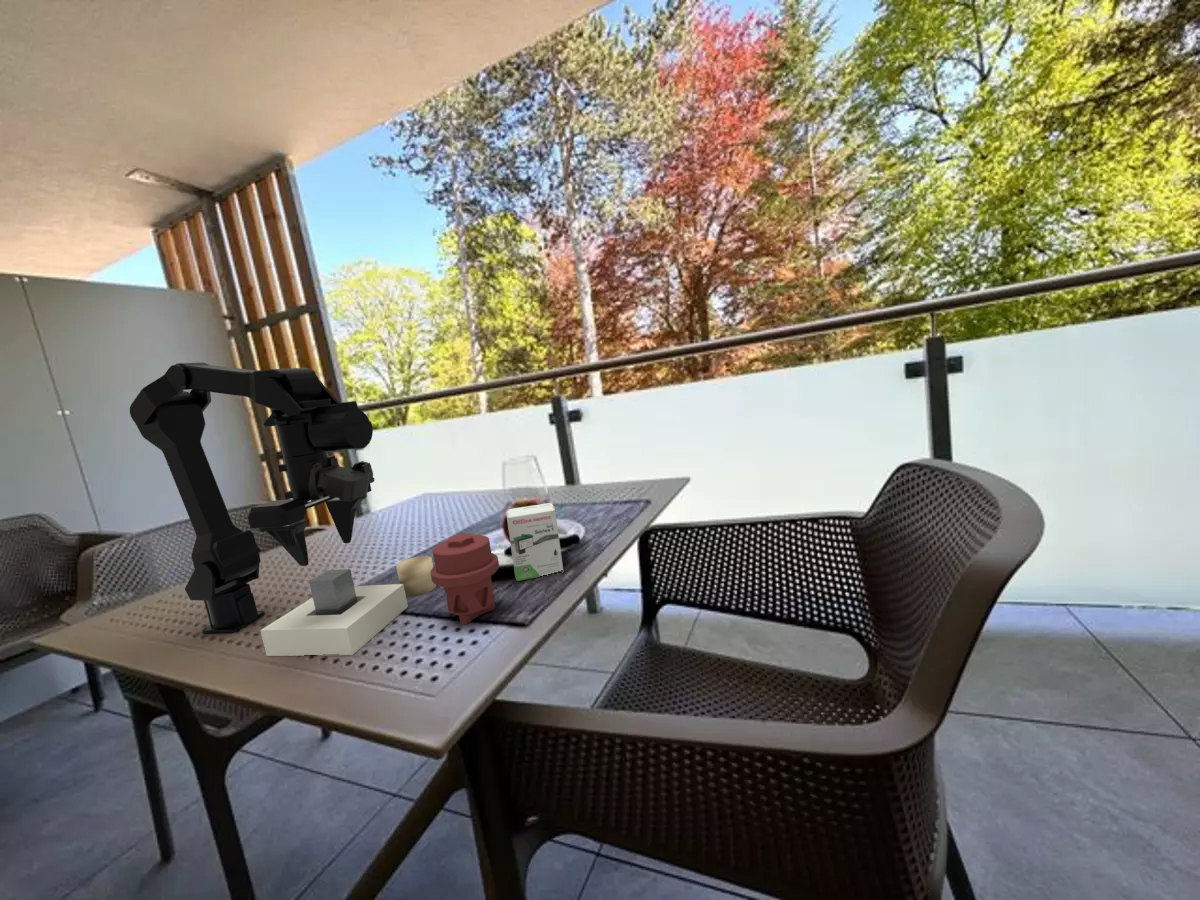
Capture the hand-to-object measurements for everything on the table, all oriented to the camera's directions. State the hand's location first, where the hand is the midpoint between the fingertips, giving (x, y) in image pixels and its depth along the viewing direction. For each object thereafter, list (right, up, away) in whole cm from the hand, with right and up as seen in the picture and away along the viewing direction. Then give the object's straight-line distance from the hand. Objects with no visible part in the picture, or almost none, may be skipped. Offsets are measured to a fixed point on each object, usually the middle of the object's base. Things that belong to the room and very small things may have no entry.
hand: (327, 553), depth 78 cm
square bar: (+2, -12, +1) cm, 12 cm away
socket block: (+2, -12, +1) cm, 12 cm away
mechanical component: (+22, -10, 0) cm, 24 cm away
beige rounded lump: (+9, -9, +13) cm, 18 cm away
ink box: (+31, -6, +14) cm, 34 cm away
